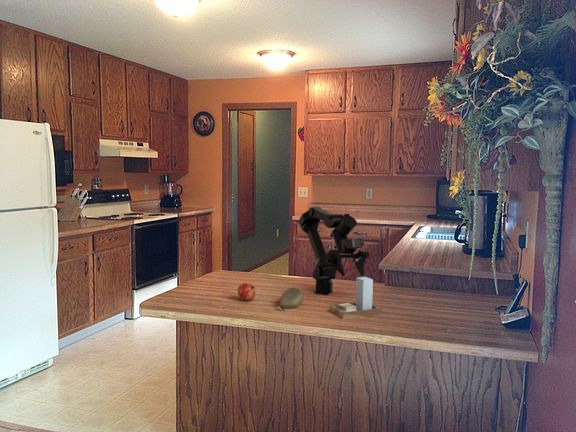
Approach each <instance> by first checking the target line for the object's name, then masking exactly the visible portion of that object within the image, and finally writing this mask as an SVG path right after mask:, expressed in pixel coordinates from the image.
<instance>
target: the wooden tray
mask: <svg viewBox="0 0 576 432" xmlns="http://www.w3.org/2000/svg"><path fill="white" fill-rule="evenodd" d="M349 304H352V305H354V306H356V302H351V303H349ZM338 306H339V304H335V305H334V304H333V305H329V312H331V313H333V314H334V315H336V316H338V317H339V318H341V319H342V320H344V319H352V318H353V319H354V318H362V317H369V316H378V315H382V312H383V311H382V308H381V307H379V306H377V305H375V304H373V303H372V309H367V310H358V311H349V312H343V311H342V310H340V309H338Z"/></svg>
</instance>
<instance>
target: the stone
mask: <svg viewBox="0 0 576 432" xmlns="http://www.w3.org/2000/svg"><path fill="white" fill-rule="evenodd" d="M303 299H304V292H303V291H302V290H301V289H300V288H297V287H290V288H288V289H285V290H284V291H283V292H282V294H281V296H280V300H279V308H280V309H281V310H283V311H285V310H295V309H297V308H299V307H301V306H302V305H303Z"/></svg>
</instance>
